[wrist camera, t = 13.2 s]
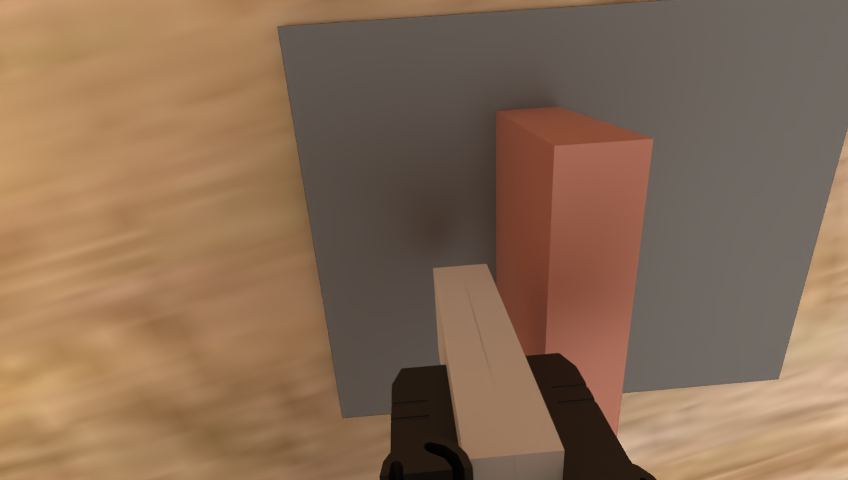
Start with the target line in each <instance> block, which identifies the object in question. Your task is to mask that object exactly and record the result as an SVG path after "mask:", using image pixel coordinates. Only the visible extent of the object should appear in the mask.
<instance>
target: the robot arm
mask: <svg viewBox="0 0 848 480" xmlns="http://www.w3.org/2000/svg"><path fill="white" fill-rule="evenodd" d="M433 275H434V289H435V304H436V319H437V334H438V349H439V357H440V364H441V365H434V366H423V367H411V368H401V370H400V372H399V373H398V375H397V377H396V378H395V380H394V382H393V384H392V402H391V403H392V407H391V453H390V454H389V455H388V456H387V458H386V459H385V460H384V462H383V465H382V469H381V473H380V476H379V477H380V480H656V479H655V477H654V476H653V475H651V474H650V473H648V472H647V471H645V470H644V469H642V468H641V467H639V466H638V465H635V464H632V462H631V461H630V460H629V458H628V456H627V455H626V453H625V451H624V449H623V448H622V446H621V444H620V442H619V441H618V439H617V437H616V435H615V434H614V432H613V430H612V428H611V426H610V425H609V423H608V421H607V419H606V418H605V416H604V414H603V412H602V411H601V409H600V407H599V405H598V404H597V402H595V399H594V396H593V395H592V393H591V391H590V389H589V388H588V387H587V386H586V382H585V381H584V379H583V377H582V375H581V374H580V372H579V370H578V368H577V367H576V366H575V365H574V364H573V363H571V362H570V361H569V360H568V359H566V358H565V357H564V356H562V355H561V354H560V353H551V354H540V355H529V356H525V354H524V352H523V350H522V347H521V345H520V342H519V340H518V338H517V335H516V333H515V330H514V328H513V326H512V323H511V321H510V319H509V316H508V314H507V311H506V309H505V307H504V304H503V302H502V299H501V297H500V295H499V292H498V290H497V287H496V285H495V283H494V280H493V278H492V275H491V273H490V271H489V268H488V266H487V264H476V265H464V266H452V267H441V268H433Z"/></svg>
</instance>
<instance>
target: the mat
mask: <svg viewBox="0 0 848 480" xmlns="http://www.w3.org/2000/svg"><path fill="white" fill-rule="evenodd" d="M278 33H279V39H280V45H281V51H282V57H283V63H284V69H285V75H286V81H287V87H288V93H289V99H290V105H291V111H292V117H293V123H294V129H295V135H296V141H297V147H298V154H299V160H300V166H301V172H302V178H303V184H304V190H305V196H306V202H307V208H308V214H309V220H310V226H311V232H312V238H313V244H314V250H315V256H316V262H317V268H318V274H319V280H320V286H321V292H322V298H323V304H324V310H325V316H326V322H327V328H328V334H329V340H330V346H331V352H332V358H333V364H334V370H335V376H336V382H337V388H338V394H339V400H340V406H341V412H342V418H351V417H362V416H373V415H385V414H391V407H392V403H391V402H392V384H393V382H394V380H395V378H396V377H397V375H398V373H399V372H400V370H401V368H411V367H423V366H434V365H441V364H440V357H439V349H438V334H437V319H436V304H435V289H434V275H433V268H441V267H452V266H464V265H476V264H487V266H488V268H489V271H490V273H491V275H492V278H493V280H494V283H495V285H496V111H502V110H516V109H530V108H545V107H561V108H564V109H567V110H570V111H573V112H576V113H579V114H582V115H585V116H588V117H591V118H594V119H597V120H600V121H603V122H606V123H608V124H611V125H614V126H617V127H620V128H623V129H626V130H629V131H632V132H635V133H638V134H641V135H644V136H647V137H650V138H653V146H652V154H651V162H650V170H649V179H648V187H647V195H646V203H645V211H644V219H643V227H642V235H641V243H640V252H639V260H638V268H637V276H636V284H635V292H634V300H633V308H632V317H631V325H630V333H629V341H628V349H627V357H626V365H625V373H624V381H623V390H622V393H630V392H641V391H652V390H664V389H675V388H686V387H697V386H708V385H719V384H730V383H742V382H753V381H764V380H775V379H779V376H780V372H781V368H782V365H783V361H784V358H785V354H786V350H787V347H788V343H789V339H790V336H791V332H792V328H793V325H794V321H795V317H796V314H797V310H798V307H799V303H800V299H801V296H802V292H803V288H804V285H805V281H806V277H807V274H808V270H809V266H810V263H811V259H812V256H813V252H814V248H815V245H816V241H817V237H818V234H819V230H820V226H821V223H822V219H823V215H824V212H825V208H826V205H827V201H828V197H829V194H830V190H831V186H832V183H833V179H834V175H835V172H836V168H837V164H838V161H839V157H840V154H841V150H842V146H843V143H844V139H845V135H846V132H847V128H848V0H664V1H649V2H635V3H620V4H605V5H590V6H575V7H560V8H545V9H530V10H516V11H501V12H486V13H471V14H456V15H441V16H426V17H411V18H397V19H382V20H367V21H352V22H337V23H322V24H307V25H292V26H278Z"/></svg>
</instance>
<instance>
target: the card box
mask: <svg viewBox="0 0 848 480" xmlns="http://www.w3.org/2000/svg"><path fill="white" fill-rule="evenodd" d="M652 146H653V138H650V137H647V136H644V135H641V134H638V133H635V132H632V131H629V130H626V129H623V128H620V127H617V126H614V125H611V124H608V123H606V122H603V121H600V120H597V119H594V118H591V117H588V116H585V115H582V114H579V113H576V112H573V111H570V110H567V109H564V108H561V107H545V108H530V109H516V110H502V111H496V287H497V290H498V292H499V295H500V297H501V299H502V302H503V304H504V307H505V309H506V311H507V314H508V316H509V319H510V321H511V323H512V326H513V328H514V330H515V333H516V335H517V338H518V340H519V342H520V345H521V347H522V350H523V352H524V354H525V356H529V355H540V354H551V353H560V354H561V355H562V356H564V357H565V358H566V359H568V360H569V361H570V362H571V363H573V364H574V365H575V366H576V367H577V368H578V370H579V372H580V374H581V375H582V377H583V379H584V381H585V382H586V386H587V387H588V388H589V389H590V391H591V393H592V395H593V396H594V399H595V402H597V404H598V405H599V407H600V409H601V411H602V412H603V414H604V416H605V418H606V419H607V421H608V423H609V425H610V426H611V428H612V430H613V432H614V434H615V435H616V437H617V430H618V422H619V414H620V406H621V398H622V390H623V381H624V373H625V365H626V357H627V349H628V341H629V333H630V325H631V317H632V308H633V300H634V292H635V284H636V276H637V268H638V260H639V252H640V243H641V235H642V227H643V219H644V211H645V203H646V195H647V187H648V179H649V170H650V162H651V154H652Z"/></svg>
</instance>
